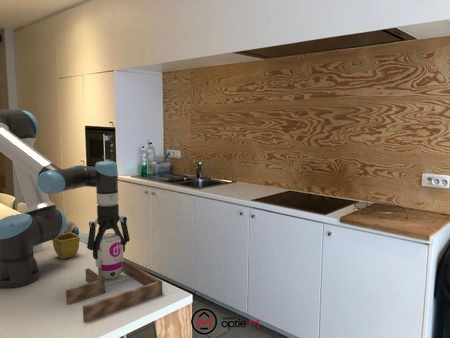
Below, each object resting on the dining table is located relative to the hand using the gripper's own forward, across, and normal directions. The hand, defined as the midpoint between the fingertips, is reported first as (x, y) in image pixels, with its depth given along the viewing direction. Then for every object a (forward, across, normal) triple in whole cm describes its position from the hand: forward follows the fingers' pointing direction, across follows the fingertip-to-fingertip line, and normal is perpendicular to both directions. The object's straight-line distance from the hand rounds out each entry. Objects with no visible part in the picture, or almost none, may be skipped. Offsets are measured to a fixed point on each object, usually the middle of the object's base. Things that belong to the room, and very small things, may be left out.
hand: (109, 263), depth 136 cm
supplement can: (+4, 0, 0) cm, 4 cm away
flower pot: (+6, -4, +34) cm, 35 cm away
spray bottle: (+6, -12, +52) cm, 54 cm away
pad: (+6, 0, -1) cm, 6 cm away
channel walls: (+6, -6, -10) cm, 13 cm away
